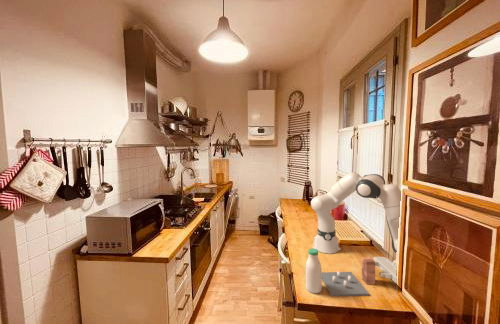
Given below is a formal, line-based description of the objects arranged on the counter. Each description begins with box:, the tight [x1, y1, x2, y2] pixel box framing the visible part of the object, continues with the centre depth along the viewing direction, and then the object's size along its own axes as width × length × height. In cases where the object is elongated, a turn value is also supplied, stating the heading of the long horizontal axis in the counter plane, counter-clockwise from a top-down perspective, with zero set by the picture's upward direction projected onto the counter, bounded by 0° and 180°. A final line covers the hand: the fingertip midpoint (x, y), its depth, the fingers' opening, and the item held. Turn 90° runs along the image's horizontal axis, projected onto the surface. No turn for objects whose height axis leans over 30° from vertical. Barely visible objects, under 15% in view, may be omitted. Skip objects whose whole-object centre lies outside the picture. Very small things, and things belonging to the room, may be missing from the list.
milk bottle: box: [305, 248, 323, 294], centre depth 105 cm, size 8×8×20 cm
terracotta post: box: [361, 256, 376, 285], centre depth 110 cm, size 4×4×12 cm
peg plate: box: [321, 270, 370, 297], centre depth 109 cm, size 18×18×4 cm
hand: (374, 269), depth 110 cm, fingers open, 8 cm apart
